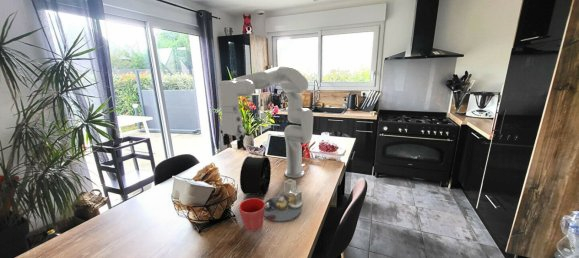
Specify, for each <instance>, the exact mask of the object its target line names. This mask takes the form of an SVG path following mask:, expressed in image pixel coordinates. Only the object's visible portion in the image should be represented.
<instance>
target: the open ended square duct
mask: <svg viewBox="0 0 579 258" xmlns="http://www.w3.org/2000/svg"><path fill="white" fill-rule="evenodd" d="M283 183H284V184H283V185H284V189H283V194H284V196H285V197H289V192H290V191H291V190H293V189H297V180H294V179H292V178H288V179H287V180H285V181H283Z"/></svg>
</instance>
